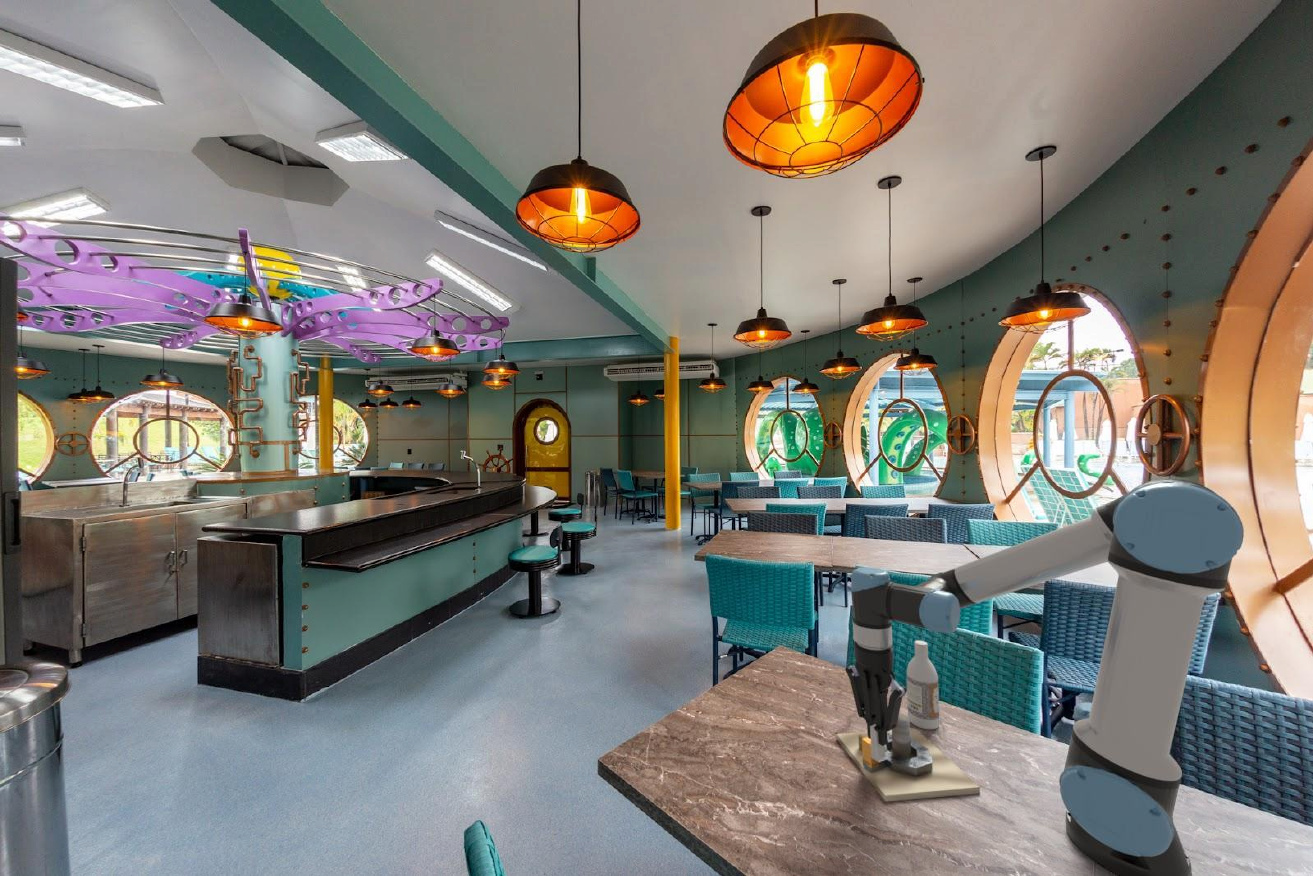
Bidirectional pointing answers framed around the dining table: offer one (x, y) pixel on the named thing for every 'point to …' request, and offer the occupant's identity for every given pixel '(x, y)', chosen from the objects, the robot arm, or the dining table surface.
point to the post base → (905, 786)
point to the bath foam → (922, 689)
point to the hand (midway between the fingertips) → (878, 757)
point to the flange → (898, 758)
